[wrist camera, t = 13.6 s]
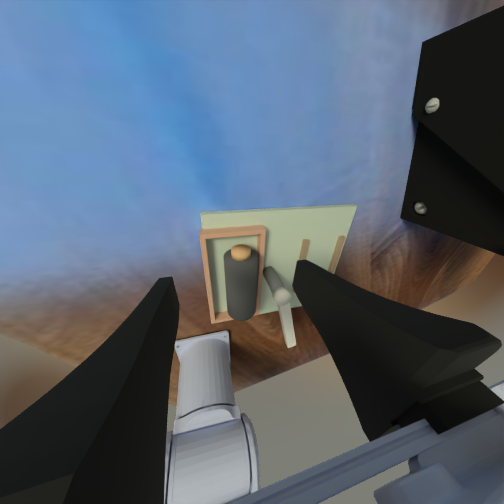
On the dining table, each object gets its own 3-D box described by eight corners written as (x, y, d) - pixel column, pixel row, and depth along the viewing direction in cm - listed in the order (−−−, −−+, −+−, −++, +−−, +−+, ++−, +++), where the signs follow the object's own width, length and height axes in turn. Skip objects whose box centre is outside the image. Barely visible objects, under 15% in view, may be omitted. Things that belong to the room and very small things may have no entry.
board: (321, 298, 30) (340, 321, 26) (211, 318, 26) (213, 349, 22) (352, 204, 22) (386, 217, 18) (197, 212, 17) (196, 231, 14)
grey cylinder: (248, 299, 25) (260, 318, 22) (224, 307, 24) (233, 329, 21) (249, 238, 20) (265, 253, 17) (218, 244, 19) (229, 262, 16)
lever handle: (283, 342, 25) (286, 349, 24) (271, 290, 19) (274, 297, 18) (295, 338, 25) (298, 344, 24) (286, 284, 19) (290, 291, 18)
